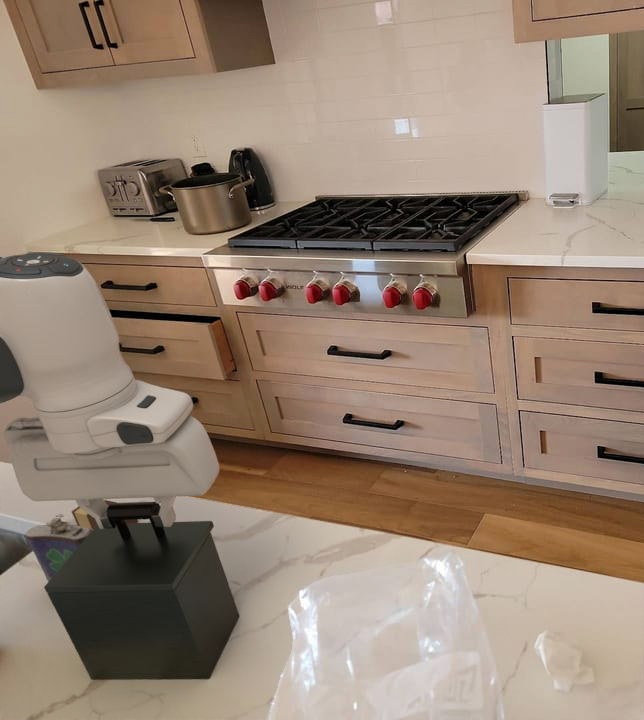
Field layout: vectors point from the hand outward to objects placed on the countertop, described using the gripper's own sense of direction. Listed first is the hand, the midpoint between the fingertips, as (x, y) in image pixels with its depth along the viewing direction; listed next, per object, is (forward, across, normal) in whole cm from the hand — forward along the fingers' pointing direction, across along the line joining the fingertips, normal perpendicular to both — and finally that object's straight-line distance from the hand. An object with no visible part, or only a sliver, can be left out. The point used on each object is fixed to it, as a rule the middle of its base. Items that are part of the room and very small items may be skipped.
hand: (139, 524), depth 73 cm
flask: (+15, -16, +7) cm, 24 cm away
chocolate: (+15, -20, +19) cm, 31 cm away
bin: (+15, 0, -3) cm, 16 cm away
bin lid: (+2, 0, -2) cm, 3 cm away
